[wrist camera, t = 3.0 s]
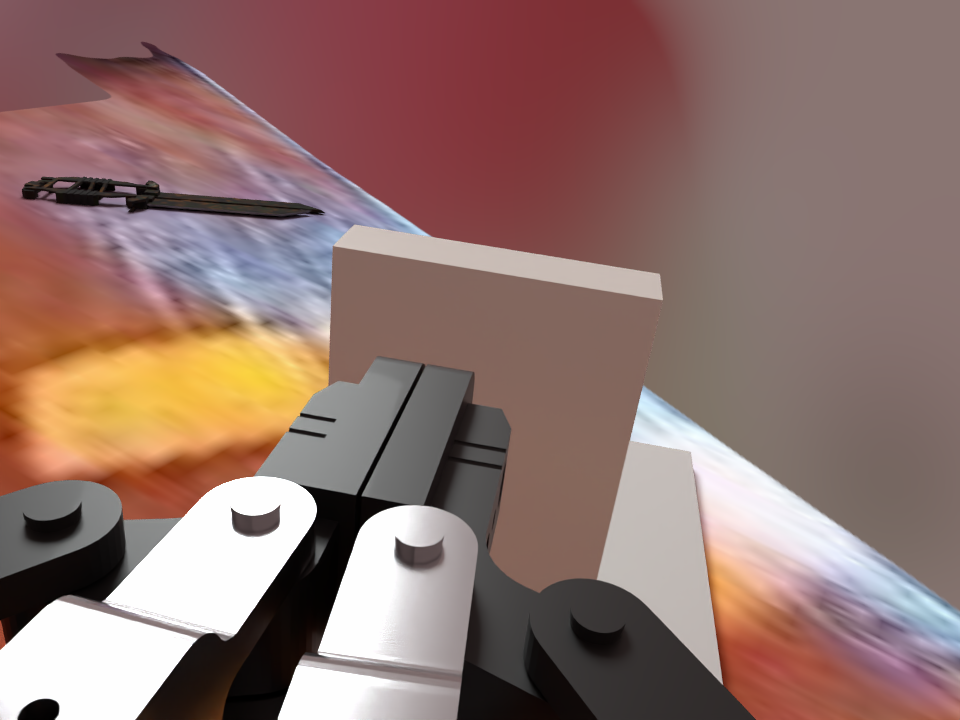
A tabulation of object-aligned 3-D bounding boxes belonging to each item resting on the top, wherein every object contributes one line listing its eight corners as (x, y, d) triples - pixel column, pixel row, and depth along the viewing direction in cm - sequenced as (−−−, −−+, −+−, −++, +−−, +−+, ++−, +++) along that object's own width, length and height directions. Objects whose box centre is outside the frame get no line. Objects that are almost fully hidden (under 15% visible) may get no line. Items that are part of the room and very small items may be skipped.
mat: (155, 659, 28) (153, 642, 28) (328, 398, 45) (329, 386, 45) (727, 782, 27) (734, 766, 26) (687, 464, 44) (690, 451, 43)
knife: (327, 215, 75) (327, 200, 75) (314, 237, 69) (314, 221, 69) (51, 184, 74) (49, 169, 73) (14, 204, 68) (12, 187, 68)
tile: (320, 642, 29) (333, 246, 22) (338, 602, 31) (354, 224, 24) (569, 694, 28) (663, 299, 21) (572, 650, 30) (659, 273, 23)
